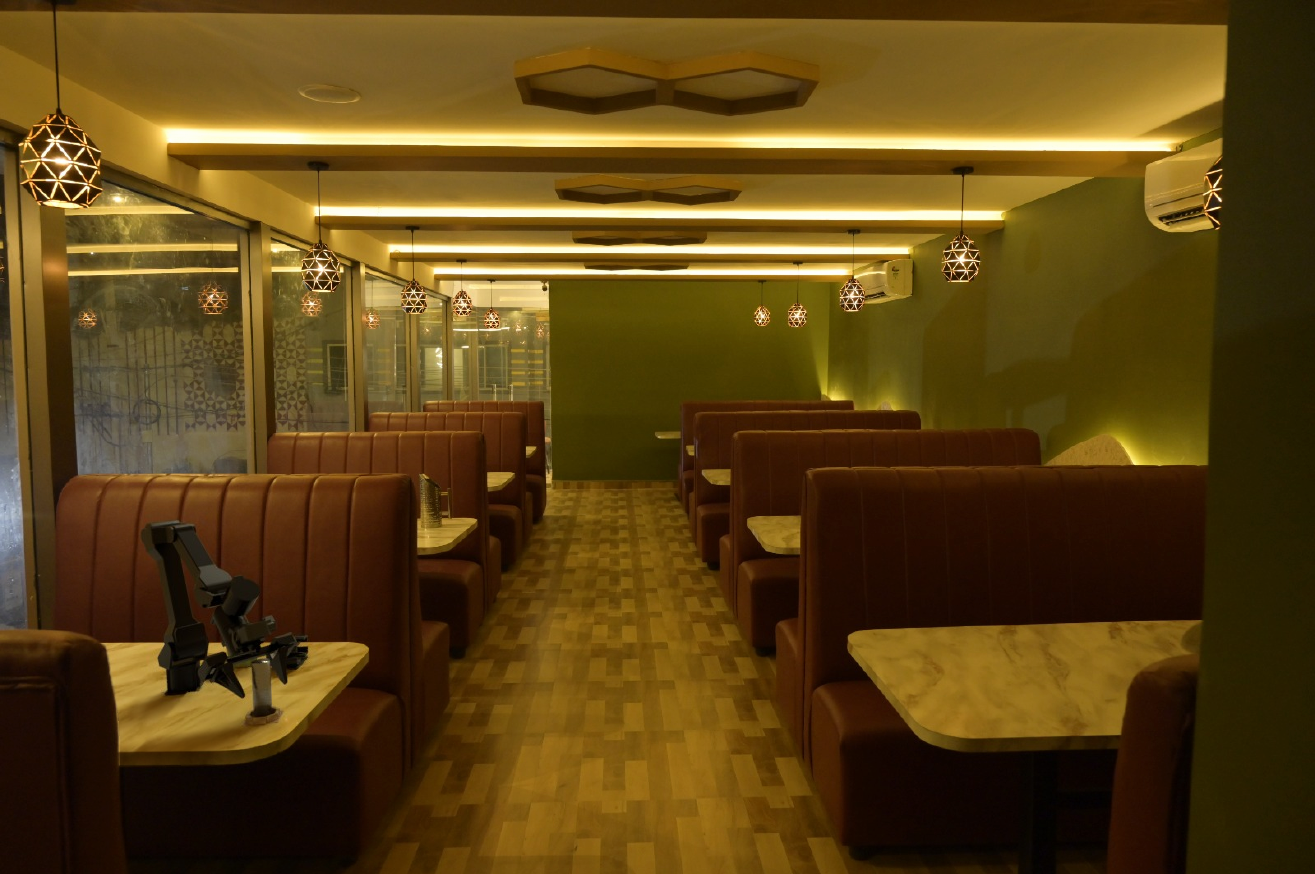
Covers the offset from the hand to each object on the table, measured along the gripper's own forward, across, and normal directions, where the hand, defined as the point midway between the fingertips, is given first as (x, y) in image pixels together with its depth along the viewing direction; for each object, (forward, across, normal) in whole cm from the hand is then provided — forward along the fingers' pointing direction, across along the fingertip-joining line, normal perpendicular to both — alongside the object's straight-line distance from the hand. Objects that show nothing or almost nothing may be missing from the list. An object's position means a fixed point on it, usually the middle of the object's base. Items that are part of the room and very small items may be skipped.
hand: (265, 690), depth 169 cm
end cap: (-16, +23, +27) cm, 39 cm away
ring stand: (+4, 0, +6) cm, 7 cm away
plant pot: (-23, +16, +34) cm, 44 cm away
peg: (+3, 0, +5) cm, 6 cm away
